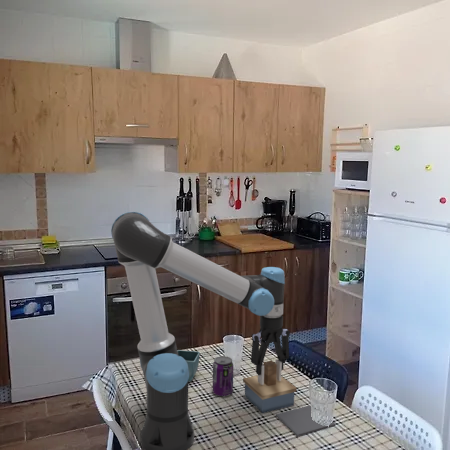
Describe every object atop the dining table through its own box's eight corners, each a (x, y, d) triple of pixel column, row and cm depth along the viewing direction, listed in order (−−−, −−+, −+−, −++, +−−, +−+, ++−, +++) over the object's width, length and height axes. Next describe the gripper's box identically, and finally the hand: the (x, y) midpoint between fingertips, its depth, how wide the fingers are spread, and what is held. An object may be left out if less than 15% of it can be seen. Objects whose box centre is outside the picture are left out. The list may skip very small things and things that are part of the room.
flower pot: (170, 383, 162) (170, 359, 161) (177, 372, 171) (177, 349, 170) (194, 385, 161) (194, 361, 160) (199, 374, 169) (200, 351, 168)
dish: (262, 413, 143) (262, 398, 143) (244, 395, 154) (245, 382, 153) (293, 405, 149) (294, 391, 148) (274, 389, 159) (274, 375, 159)
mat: (297, 436, 131) (297, 434, 131) (275, 415, 142) (275, 414, 142) (335, 425, 137) (335, 423, 137) (311, 406, 148) (311, 404, 148)
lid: (262, 399, 142) (263, 375, 141) (243, 381, 154) (243, 358, 153) (296, 391, 148) (297, 367, 147) (275, 374, 159) (276, 352, 158)
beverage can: (230, 399, 152) (231, 365, 150) (210, 396, 153) (210, 363, 152) (234, 389, 159) (235, 356, 157) (214, 386, 160) (215, 354, 159)
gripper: (251, 321, 140) (249, 392, 143) (302, 314, 148) (299, 380, 151) (240, 314, 147) (239, 381, 150) (289, 307, 155) (287, 371, 158)
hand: (269, 381), depth 150 cm, fingers open, 6 cm apart
